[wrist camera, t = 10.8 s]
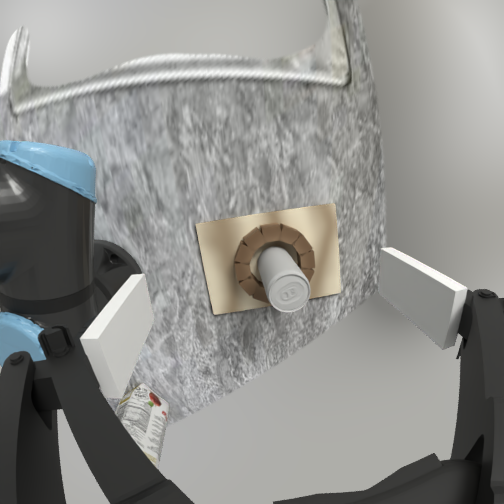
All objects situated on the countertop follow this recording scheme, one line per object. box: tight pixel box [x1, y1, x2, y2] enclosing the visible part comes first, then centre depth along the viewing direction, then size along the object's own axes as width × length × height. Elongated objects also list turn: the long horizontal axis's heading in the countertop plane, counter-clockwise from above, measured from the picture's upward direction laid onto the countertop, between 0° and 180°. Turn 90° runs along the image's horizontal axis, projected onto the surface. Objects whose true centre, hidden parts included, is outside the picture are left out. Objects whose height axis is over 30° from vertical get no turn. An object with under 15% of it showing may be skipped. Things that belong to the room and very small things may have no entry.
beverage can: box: [257, 246, 310, 313], centre depth 36 cm, size 5×5×12 cm
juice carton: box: [115, 383, 169, 469], centre depth 39 cm, size 8×9×19 cm
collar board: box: [196, 203, 341, 315], centre depth 41 cm, size 20×14×3 cm
